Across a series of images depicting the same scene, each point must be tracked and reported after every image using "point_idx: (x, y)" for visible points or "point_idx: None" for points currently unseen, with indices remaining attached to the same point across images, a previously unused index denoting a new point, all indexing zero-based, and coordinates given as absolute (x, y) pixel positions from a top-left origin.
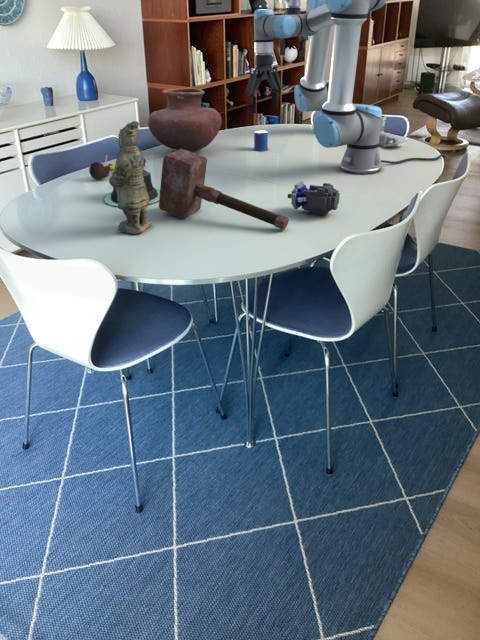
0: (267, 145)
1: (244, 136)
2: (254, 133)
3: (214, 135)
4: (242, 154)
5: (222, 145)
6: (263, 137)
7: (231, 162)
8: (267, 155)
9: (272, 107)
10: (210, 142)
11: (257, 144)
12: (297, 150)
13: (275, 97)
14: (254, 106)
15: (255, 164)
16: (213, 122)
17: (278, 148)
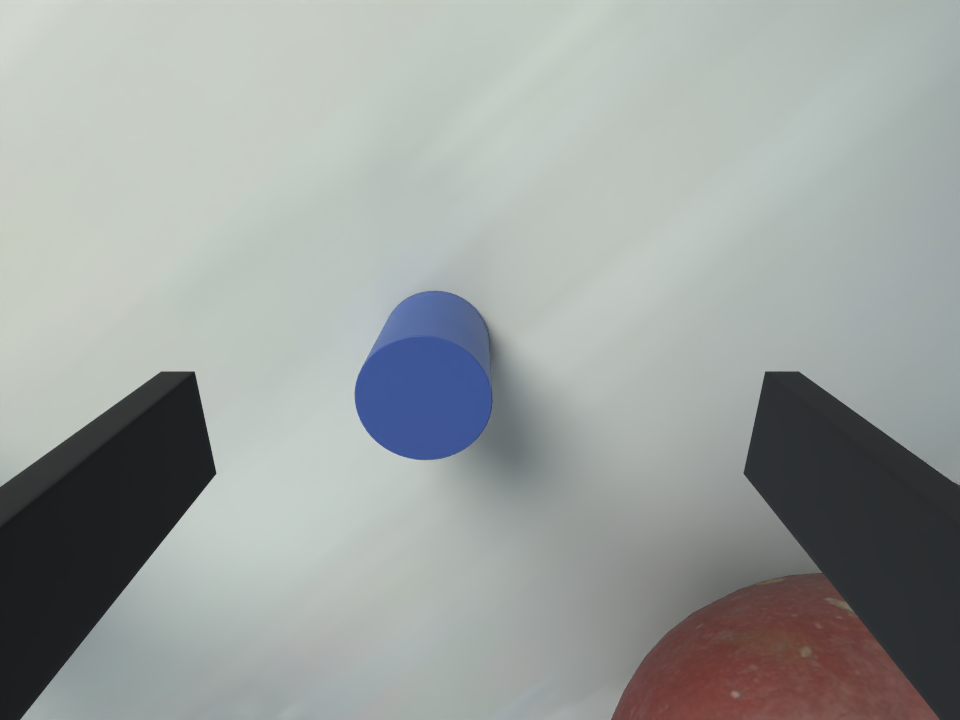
0: (403, 307)
1: (236, 653)
2: (482, 427)
3: (793, 595)
4: (638, 352)
5: (515, 604)
6: (454, 329)
7: (885, 257)
8: (551, 173)
9: (207, 463)
10: (765, 581)
11: (489, 350)
12: (241, 67)
13: (65, 519)
14: (873, 444)
15: (859, 46)
16: (900, 687)
17: (311, 257)
